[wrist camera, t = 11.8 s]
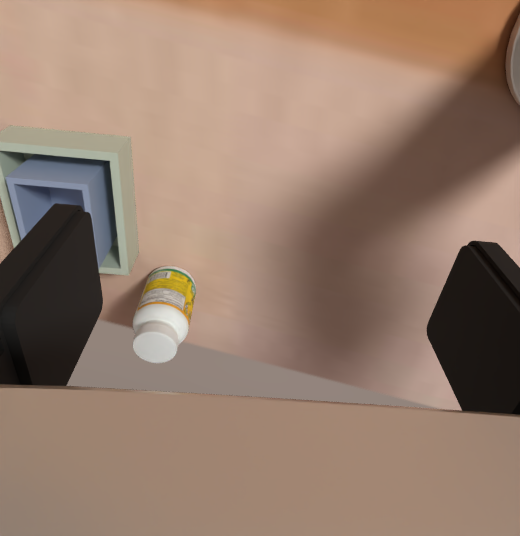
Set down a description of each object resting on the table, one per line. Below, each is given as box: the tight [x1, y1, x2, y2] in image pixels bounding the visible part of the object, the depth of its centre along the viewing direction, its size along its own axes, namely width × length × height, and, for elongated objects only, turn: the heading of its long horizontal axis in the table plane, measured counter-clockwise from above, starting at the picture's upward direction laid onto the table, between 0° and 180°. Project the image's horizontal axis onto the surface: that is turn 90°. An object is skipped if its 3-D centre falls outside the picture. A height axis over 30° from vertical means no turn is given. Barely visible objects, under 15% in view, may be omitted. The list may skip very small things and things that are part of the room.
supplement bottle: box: [133, 266, 196, 363], centre depth 42 cm, size 5×5×10 cm
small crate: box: [6, 154, 117, 269], centre depth 37 cm, size 6×8×6 cm
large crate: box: [0, 125, 139, 275], centre depth 39 cm, size 10×12×4 cm
